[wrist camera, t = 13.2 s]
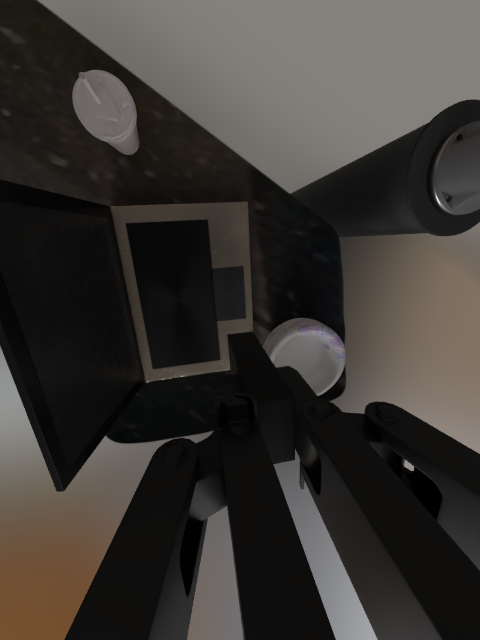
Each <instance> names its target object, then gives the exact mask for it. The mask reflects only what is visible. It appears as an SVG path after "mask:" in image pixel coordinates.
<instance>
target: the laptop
mask: <svg viewBox="0 0 480 640" xmlns="http://www.w3.org/2000/svg"><path fill="white" fill-rule="evenodd" d="M111 211H112V216H113V221H114V226H115V231H116V236H117V241H118V246H119V251H120V256H121V261H122V266H123V271H124V276H125V281H126V286H127V291H128V296H129V301H130V306H131V311H132V316H133V321H134V326H135V331H136V336H137V341H138V346H139V351H140V356H141V361H142V366H143V371H144V376H145V381H146V382H149V381H156V380H162V379H169V378H176V377H183V376H190V375H197V374H204V373H210V372H217V371H224V370H230V362H229V350H228V339H227V334H235V333H243V332H251V331H252V332H253V313H252V290H251V267H250V244H249V221H248V202H226V203H197V204H167V205H138V206H111Z"/></svg>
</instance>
